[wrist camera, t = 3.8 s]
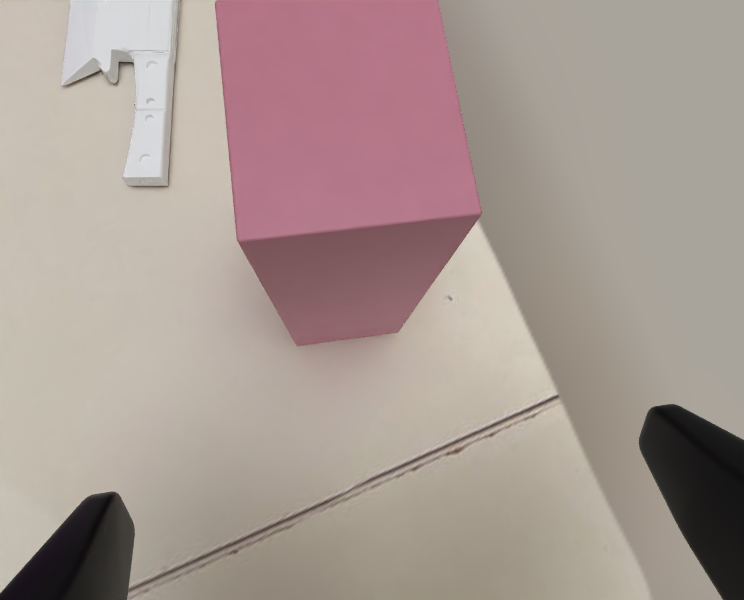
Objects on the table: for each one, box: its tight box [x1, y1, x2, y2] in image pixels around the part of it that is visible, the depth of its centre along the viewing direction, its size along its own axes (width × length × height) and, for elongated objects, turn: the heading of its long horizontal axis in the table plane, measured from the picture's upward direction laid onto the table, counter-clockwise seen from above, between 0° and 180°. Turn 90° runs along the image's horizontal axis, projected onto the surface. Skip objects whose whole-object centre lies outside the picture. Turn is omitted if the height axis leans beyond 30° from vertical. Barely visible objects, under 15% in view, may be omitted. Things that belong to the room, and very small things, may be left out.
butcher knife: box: [61, 0, 180, 186], centre depth 23 cm, size 5×15×1 cm, turn 2°
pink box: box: [215, 0, 482, 346], centre depth 16 cm, size 5×4×13 cm
